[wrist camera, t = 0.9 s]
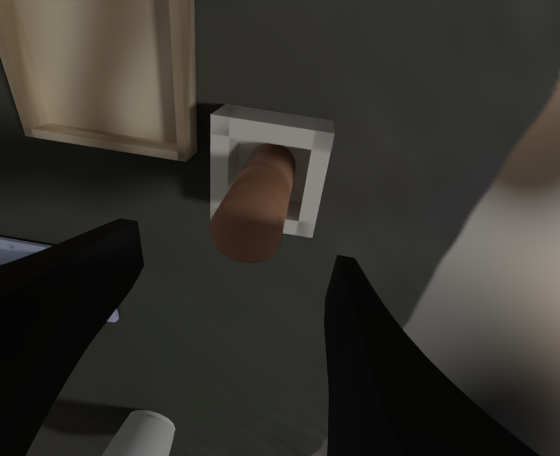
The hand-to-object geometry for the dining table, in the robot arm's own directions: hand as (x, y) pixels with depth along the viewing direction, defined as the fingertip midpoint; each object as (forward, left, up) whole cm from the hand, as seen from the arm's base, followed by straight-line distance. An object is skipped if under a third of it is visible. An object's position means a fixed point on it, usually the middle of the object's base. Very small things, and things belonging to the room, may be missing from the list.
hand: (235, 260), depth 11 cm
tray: (-10, +6, -10) cm, 16 cm away
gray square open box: (0, 0, -10) cm, 10 cm away
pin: (0, 0, -10) cm, 10 cm away
